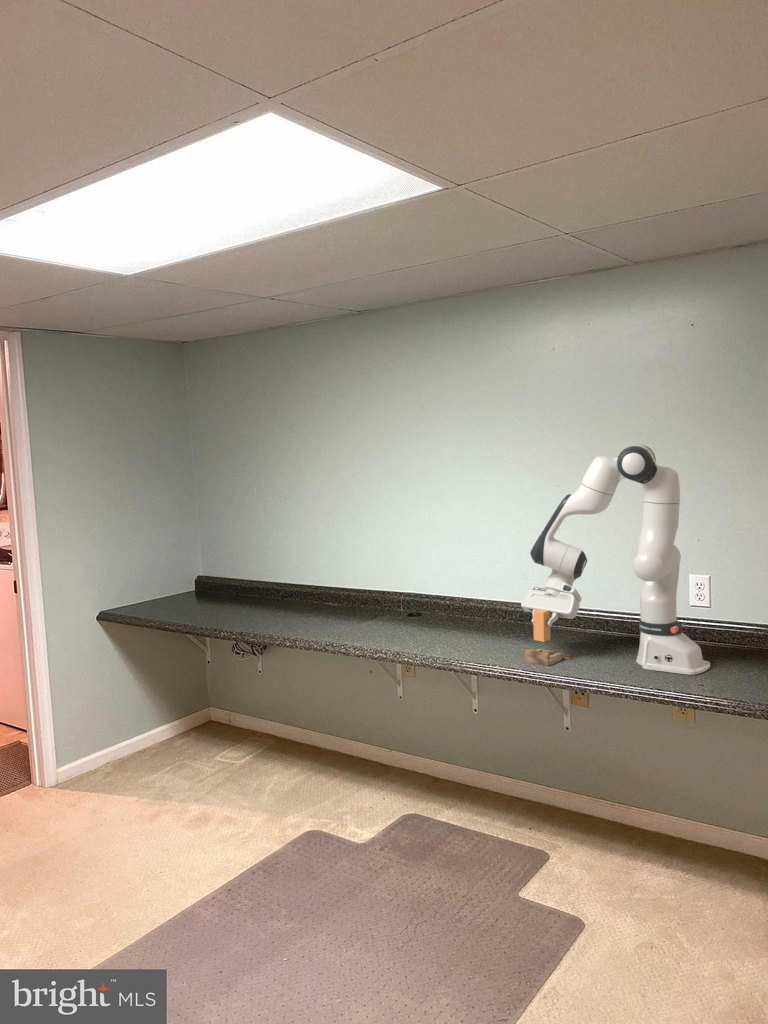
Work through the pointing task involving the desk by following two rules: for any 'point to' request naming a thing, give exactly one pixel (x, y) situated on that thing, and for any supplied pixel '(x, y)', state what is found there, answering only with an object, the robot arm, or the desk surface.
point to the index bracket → (541, 657)
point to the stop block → (541, 625)
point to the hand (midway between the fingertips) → (540, 624)
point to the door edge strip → (564, 656)
